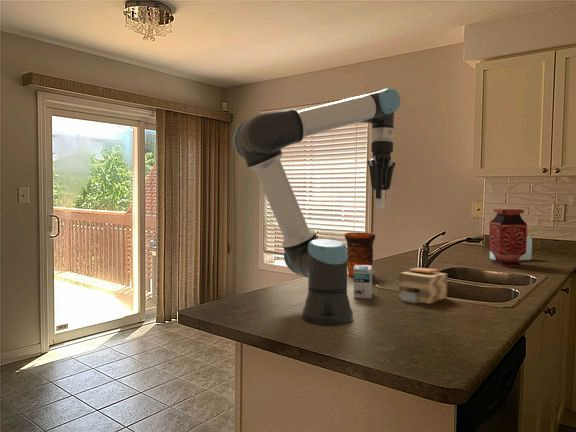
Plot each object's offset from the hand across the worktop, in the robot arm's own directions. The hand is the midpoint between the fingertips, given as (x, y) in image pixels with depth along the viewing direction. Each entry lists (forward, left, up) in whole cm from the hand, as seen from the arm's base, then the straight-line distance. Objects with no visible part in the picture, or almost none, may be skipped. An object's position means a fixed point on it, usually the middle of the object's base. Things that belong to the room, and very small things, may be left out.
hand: (380, 208), depth 152 cm
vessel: (+32, +36, -33) cm, 58 cm away
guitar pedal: (+137, +11, -33) cm, 141 cm away
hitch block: (+14, -9, -33) cm, 37 cm away
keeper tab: (+16, -7, -23) cm, 29 cm away
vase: (+115, +4, -33) cm, 119 cm away
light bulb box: (+1, +8, -33) cm, 34 cm away
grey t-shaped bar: (+13, -9, -33) cm, 36 cm away
